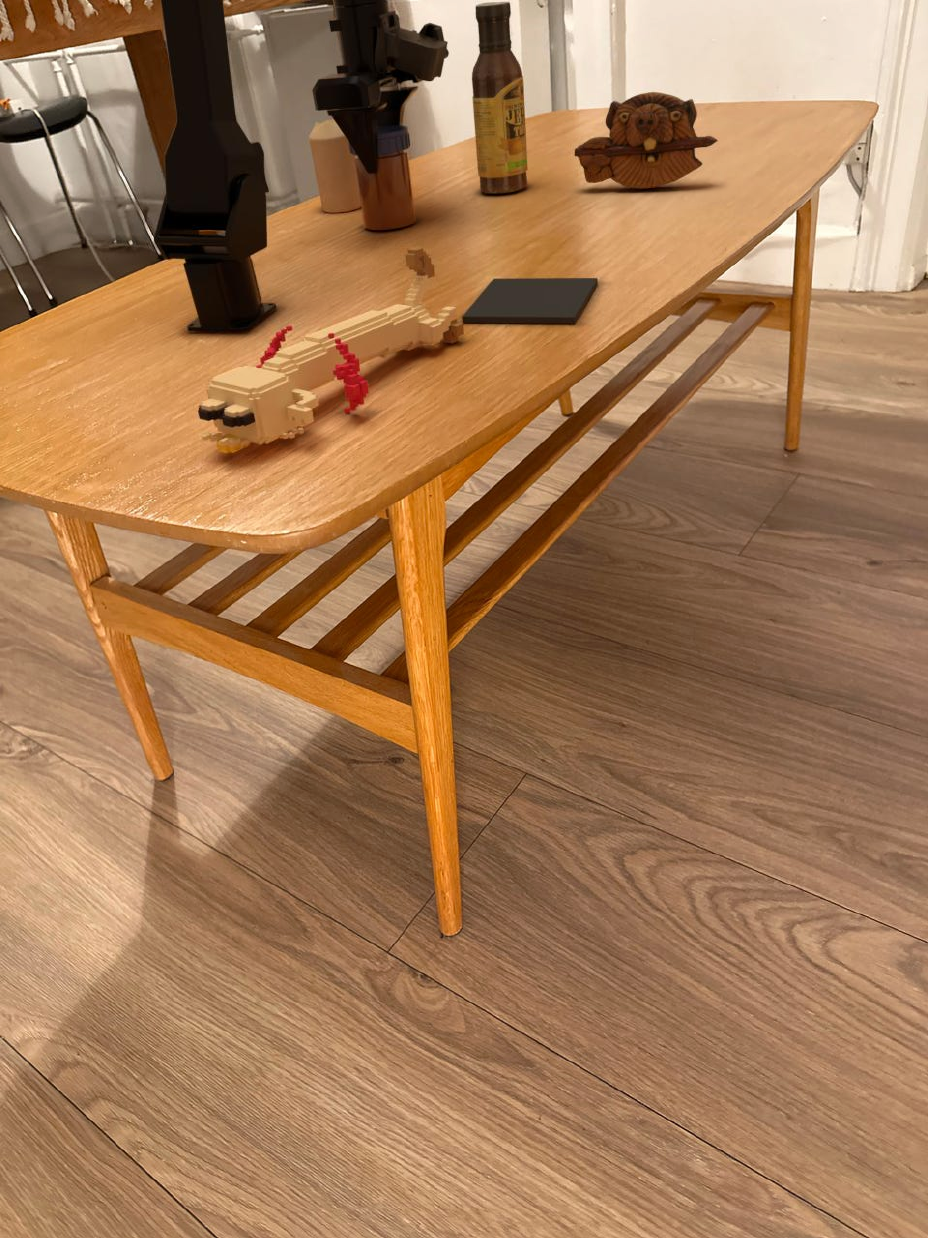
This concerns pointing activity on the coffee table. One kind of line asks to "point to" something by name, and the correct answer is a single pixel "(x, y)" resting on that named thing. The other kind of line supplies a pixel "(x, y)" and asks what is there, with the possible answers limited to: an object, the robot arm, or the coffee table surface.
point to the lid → (390, 139)
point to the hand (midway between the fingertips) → (383, 166)
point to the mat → (532, 301)
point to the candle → (334, 168)
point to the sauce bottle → (498, 104)
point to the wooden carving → (645, 142)
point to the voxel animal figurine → (320, 366)
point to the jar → (386, 192)
